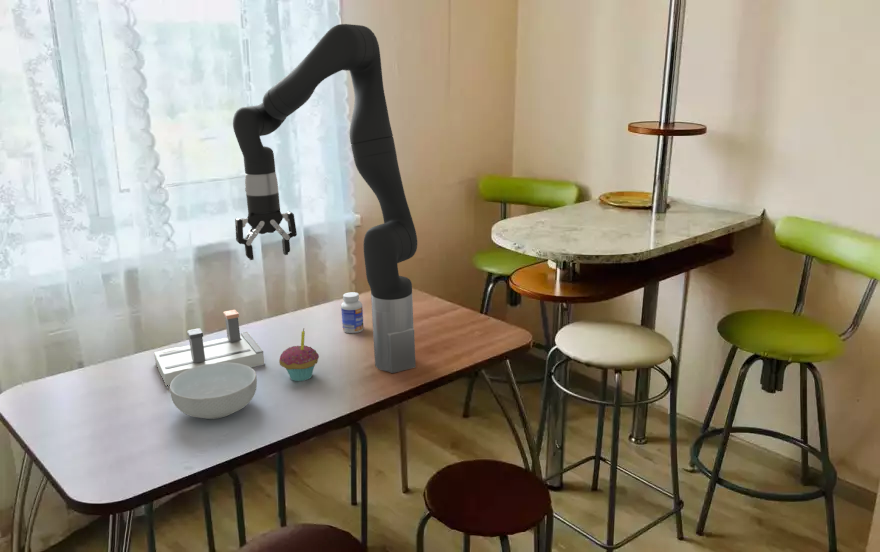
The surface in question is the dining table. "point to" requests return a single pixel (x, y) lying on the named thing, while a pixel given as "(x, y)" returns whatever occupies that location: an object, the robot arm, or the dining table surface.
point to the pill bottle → (352, 313)
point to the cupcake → (299, 361)
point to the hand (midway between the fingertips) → (268, 256)
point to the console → (209, 356)
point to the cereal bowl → (213, 389)
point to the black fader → (196, 345)
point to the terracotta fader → (232, 325)
